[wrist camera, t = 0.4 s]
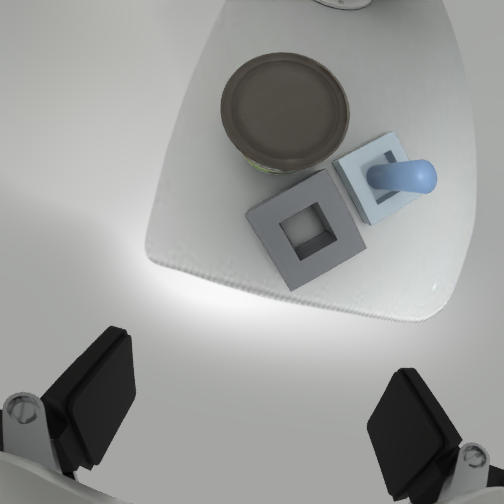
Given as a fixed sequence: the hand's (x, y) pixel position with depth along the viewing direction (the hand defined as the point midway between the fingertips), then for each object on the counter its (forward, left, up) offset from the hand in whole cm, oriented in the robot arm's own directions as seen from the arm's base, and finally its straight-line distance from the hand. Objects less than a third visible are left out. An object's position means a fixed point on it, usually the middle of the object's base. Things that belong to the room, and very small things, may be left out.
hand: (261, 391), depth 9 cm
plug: (-17, +1, -28) cm, 33 cm away
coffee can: (-8, -10, -29) cm, 32 cm away
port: (-5, +1, -29) cm, 29 cm away
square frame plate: (-17, +1, -29) cm, 33 cm away
